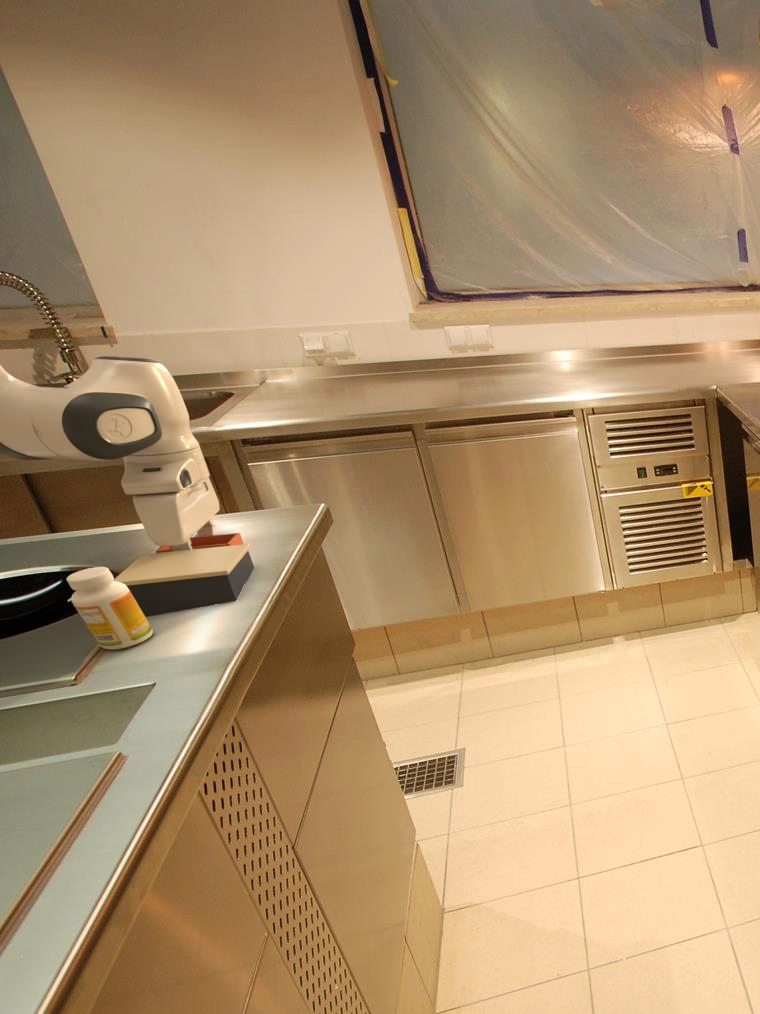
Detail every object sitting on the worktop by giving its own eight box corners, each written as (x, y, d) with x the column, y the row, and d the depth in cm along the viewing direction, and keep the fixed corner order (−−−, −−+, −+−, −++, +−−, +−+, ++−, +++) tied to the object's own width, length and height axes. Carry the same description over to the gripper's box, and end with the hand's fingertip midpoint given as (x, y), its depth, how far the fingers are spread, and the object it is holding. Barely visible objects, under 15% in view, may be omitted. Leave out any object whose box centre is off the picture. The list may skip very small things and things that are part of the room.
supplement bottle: (152, 624, 113) (113, 560, 108) (156, 639, 109) (117, 573, 104) (99, 639, 110) (57, 573, 104) (102, 655, 106) (59, 587, 101)
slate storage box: (127, 624, 114) (109, 583, 112) (157, 592, 124) (142, 554, 122) (241, 610, 119) (227, 570, 117) (262, 580, 130) (249, 543, 127)
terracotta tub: (167, 581, 128) (155, 551, 126) (180, 569, 133) (168, 539, 131) (240, 573, 132) (229, 543, 130) (250, 561, 137) (239, 532, 135)
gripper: (164, 455, 133) (195, 539, 138) (115, 486, 116) (153, 579, 122) (214, 452, 135) (242, 534, 141) (174, 482, 119) (208, 574, 124)
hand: (201, 556), depth 131 cm, fingers open, 8 cm apart
